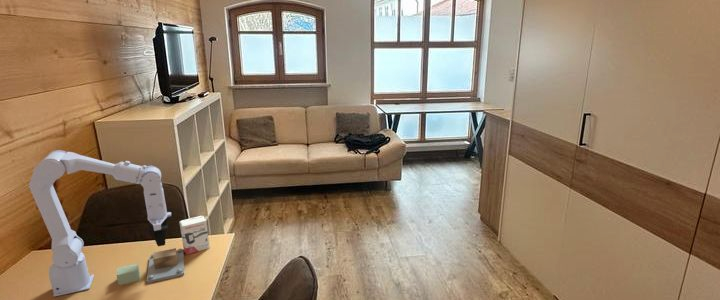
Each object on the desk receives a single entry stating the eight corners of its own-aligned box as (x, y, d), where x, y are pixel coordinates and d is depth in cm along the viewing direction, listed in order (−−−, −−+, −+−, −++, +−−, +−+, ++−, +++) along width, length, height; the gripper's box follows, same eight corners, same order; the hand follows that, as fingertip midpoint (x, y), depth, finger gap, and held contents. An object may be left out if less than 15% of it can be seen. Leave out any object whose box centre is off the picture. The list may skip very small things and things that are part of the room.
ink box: (186, 255, 143) (181, 226, 139) (183, 249, 147) (178, 220, 143) (210, 248, 147) (206, 219, 144) (207, 242, 151) (203, 214, 148)
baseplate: (147, 283, 127) (146, 279, 127) (150, 258, 141) (149, 254, 141) (184, 275, 131) (183, 271, 131) (183, 251, 145) (183, 247, 145)
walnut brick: (154, 269, 133) (152, 259, 132) (155, 262, 137) (153, 252, 136) (177, 264, 135) (175, 254, 134) (177, 258, 139) (175, 248, 138)
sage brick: (118, 286, 126) (116, 275, 125) (119, 278, 130) (117, 268, 129) (139, 280, 129) (137, 270, 128) (140, 273, 133) (138, 263, 132)
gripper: (168, 209, 124) (174, 247, 128) (169, 193, 137) (175, 227, 141) (143, 214, 122) (150, 252, 126) (146, 196, 134) (153, 231, 138)
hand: (162, 239), depth 133 cm, fingers open, 7 cm apart
